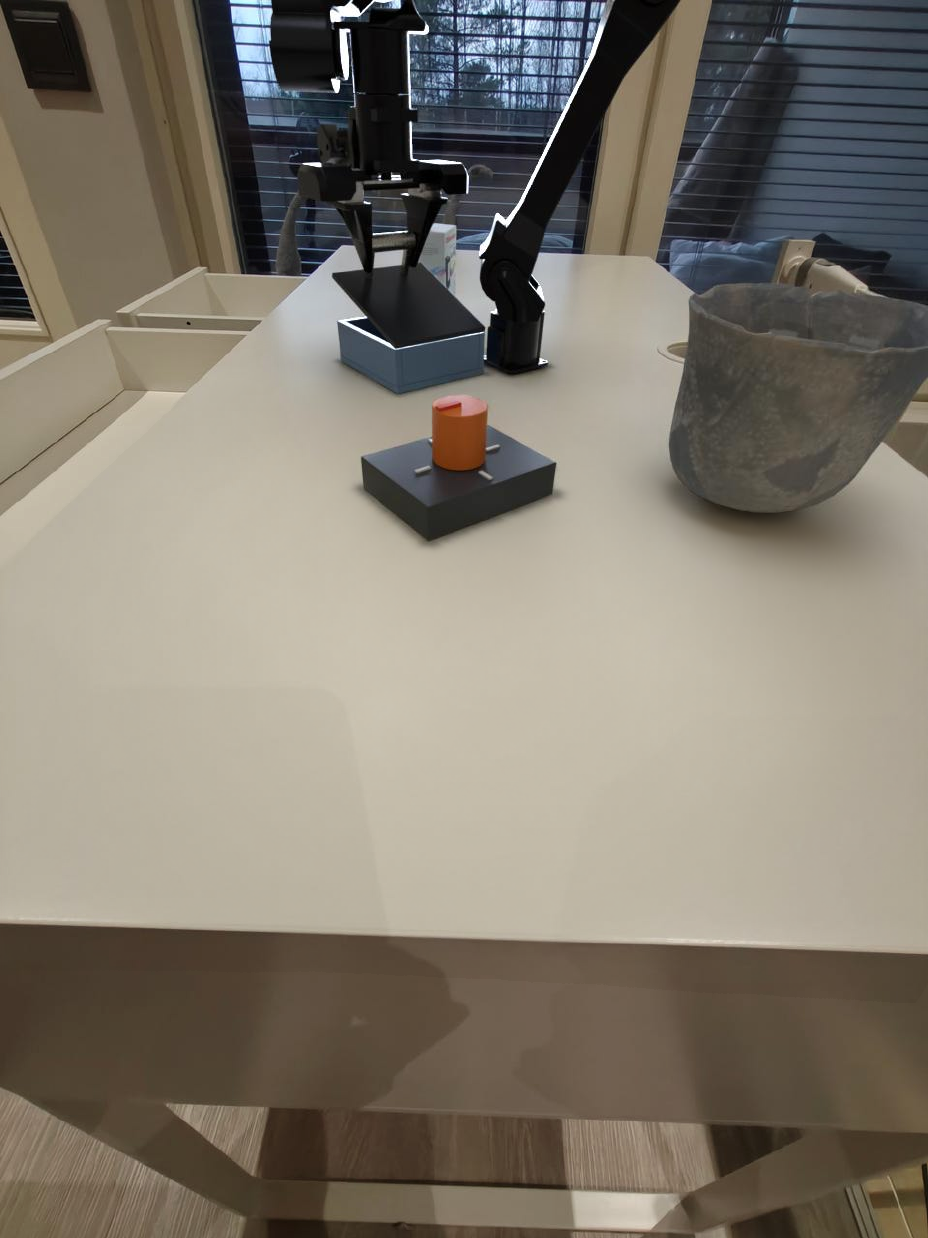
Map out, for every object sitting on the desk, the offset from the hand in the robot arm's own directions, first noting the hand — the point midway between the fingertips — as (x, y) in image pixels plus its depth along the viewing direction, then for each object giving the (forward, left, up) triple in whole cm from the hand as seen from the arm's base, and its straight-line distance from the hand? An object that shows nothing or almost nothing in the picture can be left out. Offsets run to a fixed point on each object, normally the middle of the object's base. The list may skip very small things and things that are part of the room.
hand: (390, 269), depth 70 cm
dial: (+14, +33, -7) cm, 36 cm away
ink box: (-17, -15, -10) cm, 25 cm away
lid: (0, +4, -3) cm, 5 cm away
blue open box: (0, +4, -10) cm, 11 cm away
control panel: (+14, +33, -10) cm, 37 cm away
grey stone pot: (-7, +48, -10) cm, 49 cm away
